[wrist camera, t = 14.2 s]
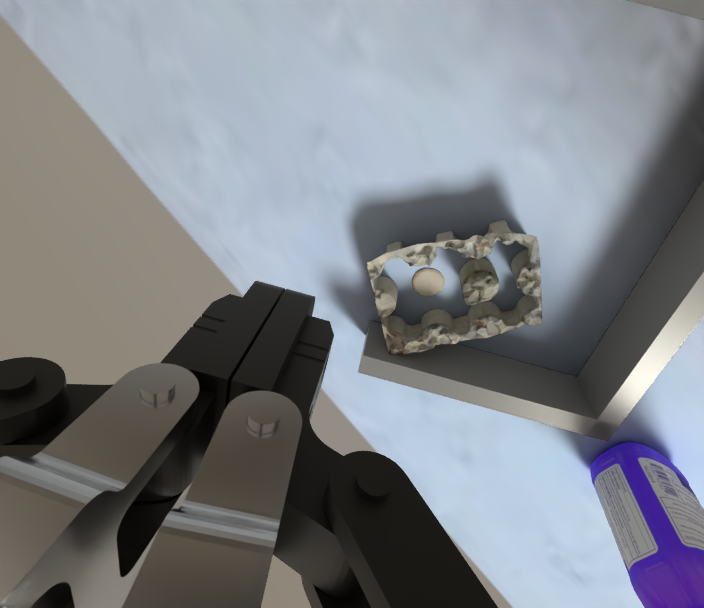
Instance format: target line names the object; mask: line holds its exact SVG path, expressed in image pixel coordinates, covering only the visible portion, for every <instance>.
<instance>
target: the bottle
mask: <svg viewBox="0 0 704 608" xmlns="http://www.w3.org/2000/svg"><path fill="white" fill-rule="evenodd" d="M591 478H592V482H593V485H594V487H595V489H596V492H597V494H598V497H599V500H600V502H601V505H602V507H603V510H604V512H605V515H606V518H607V520H608V523H609V525H610V528H611V530H612V533H613V535H614V538H615V540H616V543H617V546H618V548H619V551H620V553H621V556H622V558H623V561H624V564H625V566H626V569H627V571H628V574H629V576H630V580H631V583H632V586H633V588H634V591H635V592H636V594H637V596H638V598H639V599H640V601H641V602H642V604H643V606H644V607H645V608H704V509H703V508H702V506H701V504H700V503H699V501H698V499H697V498H696V496H695V494H694V493H693V491H692V489H691V488H690V486H689V483H688V481H687V480H686V478H685V477H684V476H683V474H682V473H681V472H680V471H679V470H678V469H677V467H676V466H674V465H673V464H672V463H671V462H670V461H669V460H668V459H667V458H666V457H664V456H663V455H662V454H660V453H659V452H657V451H655V450H653V449H652V448H649V447H647V446H645V445H642V444H638V443H634V442H627V443H622V444H619V445H616V446H614V447H612V448H610V449H609V450H608V451H606V452H604V453H602V454H600V455H599V456H598V457H597V458H596V459H595V460H594V462H593V463H592V465H591Z"/></svg>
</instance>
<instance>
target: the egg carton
mask: <svg viewBox="0 0 704 608" xmlns="http://www.w3.org/2000/svg"><path fill="white" fill-rule="evenodd" d="M497 240H500V241H501V242H502V243H504V244H505V245H511V244H513V242H514V241H515V240H516V241H517V242H518V243H520V244H522V245H524V246H526V247H527V249H525V250H523V251H521V252H519V253H518V254H517V255H516V256H515V257H514V258H513V260H512V263H511V270H512V273H513V275H514V277H515V280H516V284H517V288H520V289H522V291H523V293H524V294H525V296H523V297H522V298H521V299H520V300H519V301H518V303H517V306H516V309H514V310H510V311H500V309H499V308H498V306H497V305H495V304H494V303H492V302H490V301H488V300H491V299H492V298H493V297H494V296H495V294H496V293H497V292H498V288H499V280H498V278H497V275H496V272H495V269H494V267H493V265H492V264H491V263H490V262H489V261H487V260H486V259H483V258H482V257H484V256H486V255H487V254H489V253H491V250H492V247H493V244H494V243H495V242H496V241H497ZM450 244H452V245H453V246H452V247H449V246H448V245H450ZM437 246H438V247H441V248H442V249H447V248H450V249H451V250H452V251H453V250H457V251H458V252H459V254H460V255H461V256H462V257H464V258H468V257H473V258H474V259H471V260H469V261H468V262H466V263H465V264H464V266H463V267H462V268H461V271H460V280H461V286H462V293H463V297H464V300H465V302H466V304H468V305H472V306H471V307H470V309H469V311H468V314H467V315H466V316H462V317H459V318H456V319H453V318H452V316H451V315H450V314H449V313H448V312H446V311H444V310H442V309H433V310H430V311H428V312H426V313H425V314H424V316H423V318H422V320H421V323H420V324H416V325H407V324H406V322H405V321H404V320H403V319H401V318H399V317H396V316H390V314H391V313H392V312H393V311H394V309H395V307H396V302H397V294H398V289H397V286H396V284H395V283H394V281H393V280H392V279H390V278H388V277H385V276H380V274H381V272H382V270H383V268H384V266H385V263H386V261H388V260H389V259H391V258H399V257H401V258H402V259H403V260H404V261H405V262H406V263H408V264H409V265H410V266H422V265H429V266H431V264H432V262H433V261H434V260H435V258H436V253H437ZM367 268H368V272H369V276H370V279H371V284H372V289H373V293H374V296H375V302H376V307H377V311H378V314H379V317H380V320H381V323H382V328H383V333H384V337H385V341H386V345H387V349H388V351H389V354H393V355H394V354H397V353H401V354H409V353H412V352H422V351H426V350H429V349H432V348H433V347H434V346H435V345H438V344H456V343H458V342H460V341H464V340H471V339H475V338H488V337H491V336H495V335H498V334H501V333H504V332H506V331H508V330H512V329H516V328H518V327H520V326H522V325H523V324H527V325H531V326H533V325H538V324H539V323H541V322H542V306H541V303H542V299H541V276H540V257H539V245H538V241H537V237H535V236H533V235H527V234H520V233H515V232H513V231H512V230H511V229H510V228H509V227H508V225H507V222H506V221H504V220H503V221H497V222H493V223H490V225H489V229H488V232H487V234H486V235H485V236H480V235H475V236H472V237H471V238H469V239H467V240H457V239H456V238H455V236H454V234H453V232H452V231H448V232H444V233H439V234H437V236H436V240H435V243H423V244H416V245H412V246H409V247H406V248H404V246H403V244H402V242H394V243H390V244H387V250H386V253H385V254H383V255H381V256H379V257H378V258H376V259H374V260H372V261H371V262H367ZM444 284H445V280H444V277H443V275H442V274H441V273H440V272H439V271H438V270H435V269H432V268H424V269H421V270H419V271H418V272H417V273H416V274H415V275H414V277H413V279H412V286H413V288H414V290H416V292H417V293H418V294H420V295H423V296H434V295H435V294H438V293H439V292H440V291H441V290H442V289H443V287H444Z"/></svg>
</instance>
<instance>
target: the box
mask: <svg viewBox="0 0 704 608" xmlns="http://www.w3.org/2000/svg"><path fill="white" fill-rule="evenodd" d="M629 1H632V2H636V3H640V4H644V5H648V6H652V7H656V8H659V9H663V10H667V11H671V12H675V13H679V14H683V15H687V16H690V17H694V18H698V19H702V20H704V0H629ZM703 316H704V179H703V181H702V183H701V184H700V186H699V187H698V189H697V190H696V192H695V193H694V195H693V197H692V198H691V200H690V201H689V203H688V204H687V206H686V208H685V209H684V211H683V212H682V214H681V215H680V217H679V218H678V220H677V222H676V223H675V225H674V226H673V228H672V229H671V231H670V232H669V234H668V236H667V237H666V239H665V240H664V242H663V243H662V245H661V246H660V248H659V250H658V251H657V253H656V254H655V256H654V257H653V259H652V261H651V262H650V264H649V265H648V267H647V268H646V270H645V271H644V273H643V275H642V276H641V278H640V279H639V281H638V282H637V284H636V285H635V287H634V289H633V290H632V292H631V293H630V295H629V296H628V298H627V299H626V301H625V303H624V304H623V306H622V307H621V309H620V310H619V312H618V314H617V315H616V317H615V318H614V320H613V321H612V323H611V324H610V326H609V328H608V329H607V331H606V332H605V334H604V335H603V337H602V338H601V340H600V342H599V343H598V345H597V346H596V348H595V349H594V351H593V353H592V354H591V356H590V357H589V359H588V360H587V362H586V363H585V365H584V367H583V368H582V370H581V371H580V373H579V374H578V376H577V377H575V376H572V375H568V374H564V373H561V372H557V371H553V370H550V369H546V368H543V367H539V366H535V365H532V364H528V363H524V362H521V361H517V360H513V359H510V358H506V357H502V356H499V355H495V354H491V353H488V352H484V351H480V350H477V349H473V348H470V347H466V346H462V345H459V344H438V345H435V346H434V347H433V348H432V349H429V350H426V351H422V352H412V353H409V354H401V353H397V354H394V355H393V354H389V351H388V349H387V345H386V341H385V337H384V333H383V328H382V323H378V322H375V321H370V324H369V327H368V331H367V334H366V338H365V343H364V347H363V352H362V356H361V361H360V365H359V370H358V373H362V374H366V375H369V376H373V377H377V378H380V379H384V380H387V381H391V382H395V383H398V384H402V385H406V386H409V387H413V388H416V389H420V390H424V391H427V392H431V393H435V394H438V395H442V396H445V397H449V398H453V399H456V400H460V401H463V402H467V403H471V404H474V405H478V406H482V407H485V408H489V409H492V410H496V411H500V412H503V413H507V414H511V415H514V416H518V417H521V418H525V419H529V420H532V421H536V422H540V423H543V424H547V425H550V426H554V427H558V428H561V429H565V430H569V431H572V432H576V433H579V434H583V435H587V436H590V437H594V438H597V439H601V440H605V441H608V440H609V439H610V437H611V436H612V435H613V433H614V432H615V431H616V430H617V428H618V427H619V426H620V424H621V423H622V422H623V420H624V419H625V418H626V416H627V415H628V414H629V413H630V411H631V410H632V409H633V407H634V406H635V405H636V403H637V402H638V401H639V399H640V398H641V397H642V396H643V394H644V393H645V392H646V390H647V389H648V388H649V386H650V385H651V384H652V383H653V381H654V380H655V379H656V377H657V376H658V375H659V373H660V372H661V371H662V369H663V368H664V367H665V366H666V364H667V363H668V362H669V360H670V359H671V358H672V356H673V355H674V354H675V352H676V351H677V350H678V349H679V347H680V346H681V345H682V343H683V342H684V341H685V339H686V338H687V337H688V335H689V334H690V333H691V332H692V330H693V329H694V328H695V326H696V325H697V324H698V322H699V321H700V320H701V318H702V317H703Z"/></svg>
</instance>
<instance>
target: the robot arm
mask: <svg viewBox="0 0 704 608" xmlns="http://www.w3.org/2000/svg"><path fill="white" fill-rule="evenodd" d="M314 303H315V297H314V296H311V295H307V294H303V293H300V292H296V291H292V290H289V289H286V290H285V288H281V287H277V286H274V285H270V284H266V283H263V282H259V281H255V282H254V283H253V285H252V286H251V287H250V289H249V290H248V291H247V293H246V294H245V295H244V297H243V298H242V297H239V296H235V295H231V294H229V295H227V296H225V297H223V298H221V299H218V300H216V301H214V302H213V303H212V304H211V305H210V306H209V307H208V308H207V309H206V311H205V312H204V313H203V314H202V317H200V318H199V319H198V320H197V321H196V322H195V323H194V325H193V327H191V328H190V329H189V330H188V331H187V333H186V334H185V335H184V336H183V337H182V339H180V341H179V342H178V343H177V344H176V345H175V346H174V348H173V349H172V350H171V351H170V352H169V353H168V355H167V356H166V357H165V358H164V359H163V360H162V362H161V363H157V364H149V365H145V366H141V367H138V368H136V369H134V370H132V371H130V372H128V373H127V374H125V375H124V376H123V377H122V378H121V379H120V380H118V381H117V382H116V383H115V384H114V385H82V384H66V378H65V373H64V371H63V370H62V368H61V367H60V366H59V365H57V364H56V363H54V362H52V361H49V360H47V359H42V358H33V357H22V358H13V359H8V360H4V361H0V608H261V603H262V599H263V594H264V590H265V586H266V582H267V578H268V573H269V569H270V564H271V559H272V556H273V555H275V556H276V557H277V558H279V559H280V560H281V561H283V562H284V563H285V564H287V565H288V566H289V567H291V568H292V569H294V570H295V571H296V572H298V573H299V574H300V575H301V577H302V584H303V587H304V590H305V593H306V595H307V597H308V600H309V602H310V605H311V607H312V608H498V607H497V605H496V604H495V603H494V601H493V600H492V598H491V597H490V595H489V594H488V592H487V591H486V589H485V588H484V587H483V585H482V584H481V582H480V581H479V579H478V578H477V576H476V575H475V574H474V572H473V571H472V569H471V568H470V566H469V565H468V563H467V562H466V561H465V559H464V558H463V556H462V555H461V553H460V552H459V550H458V549H457V547H456V546H455V545H454V543H453V542H452V540H451V539H450V537H449V536H448V534H447V533H446V532H445V530H444V529H443V527H442V526H441V524H440V523H439V521H438V520H437V518H436V517H435V516H434V514H433V513H432V511H431V510H430V508H429V507H428V505H427V504H426V503H425V501H424V500H423V498H422V497H421V495H420V494H419V492H418V491H417V490H416V488H415V487H414V485H413V484H412V482H411V481H410V479H409V478H408V476H407V475H406V474H405V472H404V471H403V470H402V469H401V468H400V467H399V466H398V465H397V464H396V463H395V462H394V461H392V460H391V459H389V458H387V457H386V456H384V455H381V454H378V453H375V452H371V451H357V452H352V453H349V454H347V455H345V456H342V455H341V454H339V453H338V452H336V451H334V450H333V449H331V448H330V447H328V446H327V445H325V444H324V443H323V442H322V441H321V440H320V439H319V438H318V437H317V436H316V434H315V433H314V431H313V429H312V427H311V424H310V419H311V416H312V413H313V409H314V406H315V403H316V400H317V397H318V394H319V390H320V387H321V384H322V381H323V377H324V373H325V369H326V365H327V361H328V357H329V353H330V349H331V345H332V341H333V337H334V334H333V331H332V328H331V324H330V321H326V320H323V319H319V318H315V317H312V313H313V308H314Z"/></svg>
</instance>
